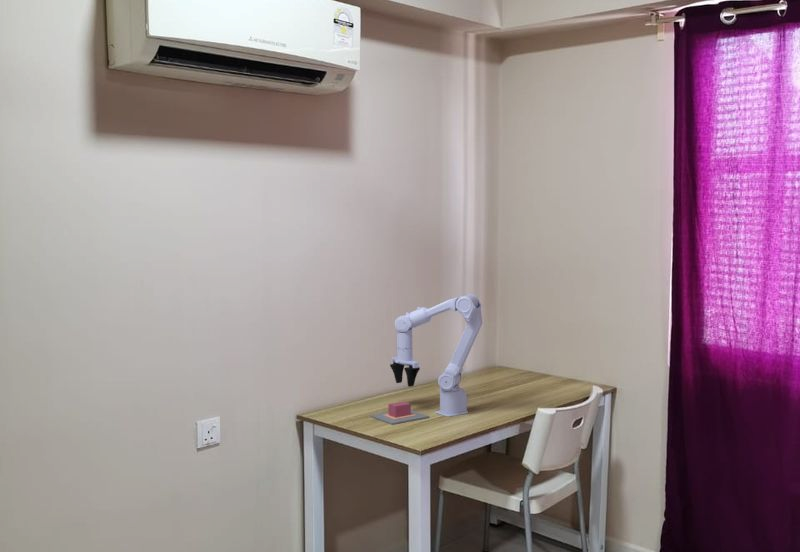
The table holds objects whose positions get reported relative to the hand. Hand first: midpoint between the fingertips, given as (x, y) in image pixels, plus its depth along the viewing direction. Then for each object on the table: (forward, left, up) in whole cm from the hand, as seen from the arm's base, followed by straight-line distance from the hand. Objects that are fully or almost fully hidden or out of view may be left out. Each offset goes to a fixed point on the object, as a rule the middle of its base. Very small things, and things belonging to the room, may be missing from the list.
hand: (404, 384), depth 295 cm
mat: (+8, +8, -9) cm, 15 cm away
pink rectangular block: (+8, +8, -9) cm, 14 cm away
